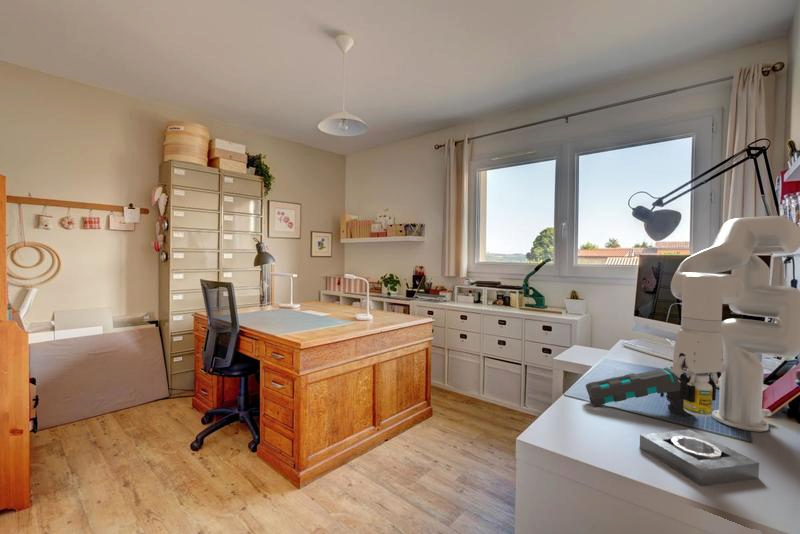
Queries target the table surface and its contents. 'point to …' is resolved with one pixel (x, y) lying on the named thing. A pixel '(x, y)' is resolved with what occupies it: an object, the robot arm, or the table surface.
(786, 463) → the table surface
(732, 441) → the table surface
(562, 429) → the table surface
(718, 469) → the bore block
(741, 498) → the table surface
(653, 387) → the gun
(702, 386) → the supplement bottle
